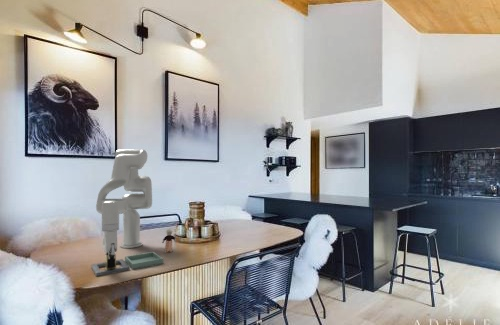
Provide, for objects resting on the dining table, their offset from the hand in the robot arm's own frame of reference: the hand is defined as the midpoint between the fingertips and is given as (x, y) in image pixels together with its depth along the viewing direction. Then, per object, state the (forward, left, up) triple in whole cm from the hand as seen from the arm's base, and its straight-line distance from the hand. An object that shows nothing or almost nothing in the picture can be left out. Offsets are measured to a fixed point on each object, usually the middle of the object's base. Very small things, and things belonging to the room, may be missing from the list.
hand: (110, 265), depth 140 cm
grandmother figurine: (-11, +33, -2) cm, 35 cm away
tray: (0, +16, -1) cm, 16 cm away
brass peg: (0, 0, -1) cm, 1 cm away
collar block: (0, 0, -1) cm, 1 cm away
